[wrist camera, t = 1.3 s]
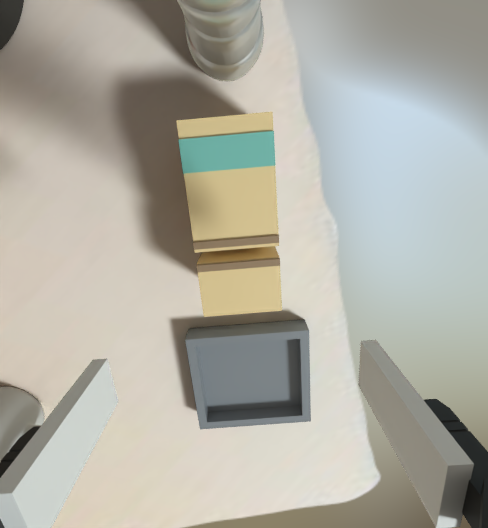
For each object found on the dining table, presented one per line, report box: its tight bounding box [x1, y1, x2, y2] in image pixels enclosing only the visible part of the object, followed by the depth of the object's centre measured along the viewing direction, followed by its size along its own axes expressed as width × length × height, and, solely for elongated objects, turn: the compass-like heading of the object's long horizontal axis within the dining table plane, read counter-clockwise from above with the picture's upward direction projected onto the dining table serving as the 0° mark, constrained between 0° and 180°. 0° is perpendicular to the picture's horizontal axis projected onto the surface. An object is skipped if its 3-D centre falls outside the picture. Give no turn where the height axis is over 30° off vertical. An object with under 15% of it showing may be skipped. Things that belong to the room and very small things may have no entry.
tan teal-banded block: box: [176, 112, 279, 253], centre depth 27 cm, size 11×7×8 cm, turn 5°
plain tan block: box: [196, 246, 282, 317], centre depth 29 cm, size 5×7×8 cm
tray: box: [185, 320, 311, 429], centre depth 36 cm, size 13×14×2 cm
